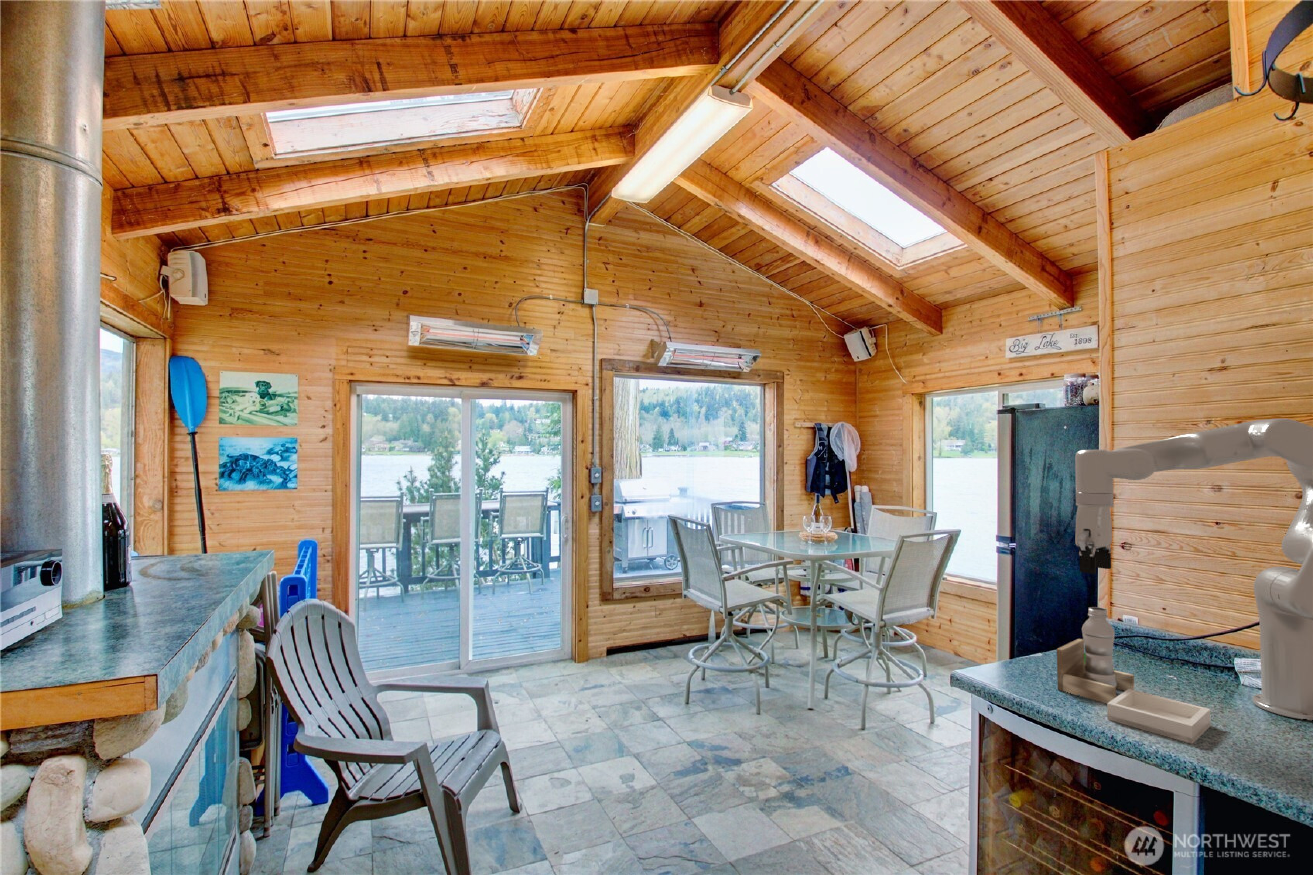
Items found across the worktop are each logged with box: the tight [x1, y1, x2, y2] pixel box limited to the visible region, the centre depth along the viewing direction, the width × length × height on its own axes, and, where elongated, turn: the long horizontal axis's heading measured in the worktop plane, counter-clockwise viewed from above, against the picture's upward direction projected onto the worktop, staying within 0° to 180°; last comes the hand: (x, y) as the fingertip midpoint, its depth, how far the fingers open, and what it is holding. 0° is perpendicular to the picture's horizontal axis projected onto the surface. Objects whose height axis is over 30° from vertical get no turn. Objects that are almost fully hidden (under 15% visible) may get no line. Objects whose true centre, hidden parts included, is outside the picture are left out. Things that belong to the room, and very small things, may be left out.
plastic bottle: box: [1081, 606, 1117, 686], centre depth 152 cm, size 6×7×20 cm
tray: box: [1106, 689, 1212, 745], centre depth 134 cm, size 14×13×4 cm
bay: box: [1056, 638, 1135, 704], centre depth 152 cm, size 12×13×10 cm
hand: (1095, 570), depth 152 cm, fingers open, 9 cm apart
